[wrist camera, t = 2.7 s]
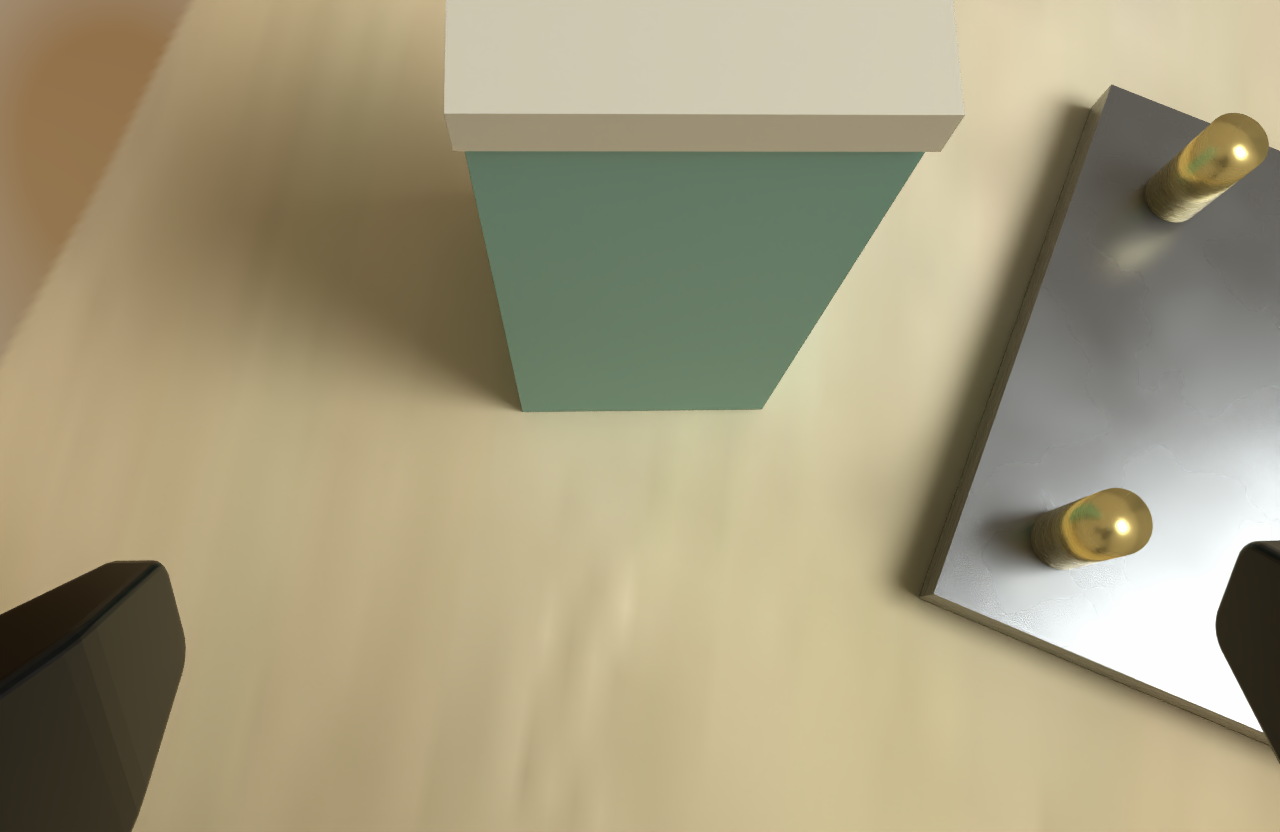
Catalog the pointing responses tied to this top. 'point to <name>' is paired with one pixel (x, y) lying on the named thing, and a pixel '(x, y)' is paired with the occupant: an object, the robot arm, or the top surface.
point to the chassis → (1133, 412)
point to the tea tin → (685, 178)
